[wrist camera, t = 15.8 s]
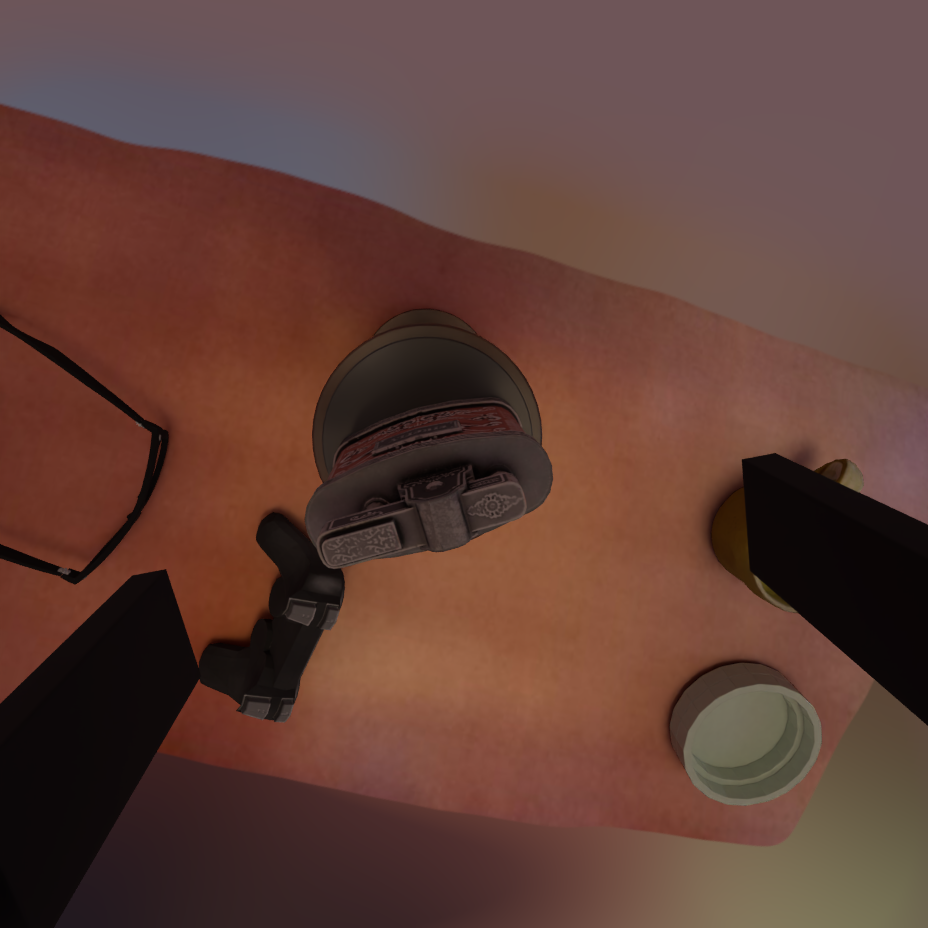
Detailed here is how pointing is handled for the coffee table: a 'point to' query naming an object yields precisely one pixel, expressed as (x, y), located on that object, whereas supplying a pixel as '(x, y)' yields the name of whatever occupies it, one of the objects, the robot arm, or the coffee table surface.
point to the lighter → (427, 482)
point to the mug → (733, 531)
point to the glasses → (149, 481)
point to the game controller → (279, 627)
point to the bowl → (745, 734)
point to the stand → (415, 379)
